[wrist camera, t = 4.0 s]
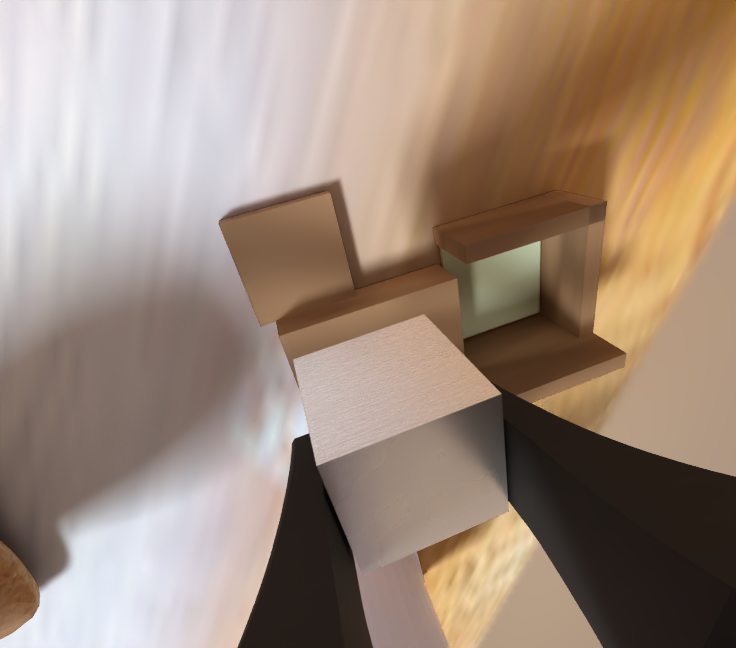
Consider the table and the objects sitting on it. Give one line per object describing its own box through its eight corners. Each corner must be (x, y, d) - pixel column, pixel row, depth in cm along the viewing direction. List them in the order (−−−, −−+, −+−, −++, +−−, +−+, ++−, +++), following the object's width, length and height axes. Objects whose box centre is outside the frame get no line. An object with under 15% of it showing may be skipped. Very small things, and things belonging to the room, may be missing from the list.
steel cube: (440, 413, 13) (508, 511, 10) (330, 456, 13) (362, 575, 9) (424, 314, 12) (501, 393, 8) (292, 359, 11) (316, 466, 8)
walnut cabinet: (551, 320, 22) (624, 367, 18) (296, 411, 20) (311, 488, 16) (559, 126, 17) (663, 128, 13) (219, 220, 15) (211, 259, 11)
